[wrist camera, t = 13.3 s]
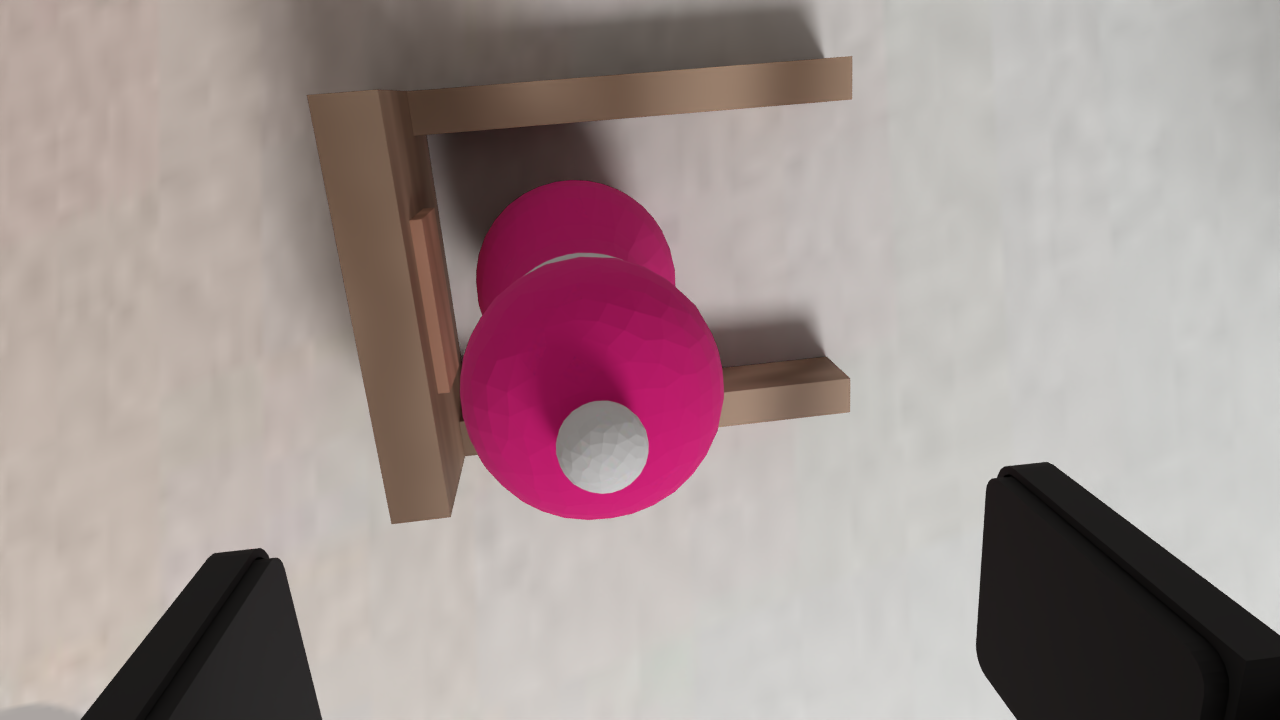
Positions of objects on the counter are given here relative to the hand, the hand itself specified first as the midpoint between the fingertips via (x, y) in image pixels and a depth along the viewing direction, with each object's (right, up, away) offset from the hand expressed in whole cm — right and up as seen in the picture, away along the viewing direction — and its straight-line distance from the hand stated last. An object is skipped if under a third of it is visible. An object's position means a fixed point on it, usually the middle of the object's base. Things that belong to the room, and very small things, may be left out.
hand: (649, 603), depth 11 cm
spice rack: (-1, +8, +23) cm, 24 cm away
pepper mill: (-3, +7, +23) cm, 24 cm away
